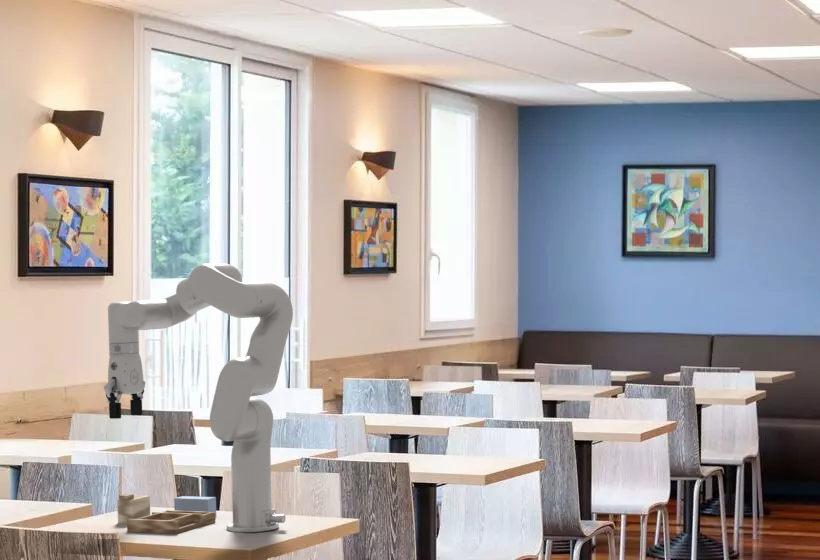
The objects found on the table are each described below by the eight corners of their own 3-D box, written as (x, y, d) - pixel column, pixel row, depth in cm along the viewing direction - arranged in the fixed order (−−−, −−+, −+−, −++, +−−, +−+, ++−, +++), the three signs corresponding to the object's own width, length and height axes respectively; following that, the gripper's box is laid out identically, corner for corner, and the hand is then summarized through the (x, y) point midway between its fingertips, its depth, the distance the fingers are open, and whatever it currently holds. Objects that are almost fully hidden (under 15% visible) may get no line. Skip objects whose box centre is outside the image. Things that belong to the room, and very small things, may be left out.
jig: (215, 522, 360) (215, 510, 360) (176, 533, 343) (176, 521, 343) (167, 520, 365) (167, 508, 365) (127, 531, 349) (126, 519, 349)
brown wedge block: (150, 519, 368) (149, 491, 368) (131, 524, 360) (130, 495, 360) (135, 518, 370) (135, 490, 370) (116, 523, 362) (115, 495, 362)
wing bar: (216, 516, 370) (215, 497, 370) (208, 519, 366) (207, 499, 366) (183, 515, 374) (182, 496, 374) (174, 517, 370) (174, 498, 370)
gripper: (117, 351, 359) (119, 419, 358) (154, 348, 375) (156, 413, 374) (92, 351, 361) (94, 419, 361) (130, 348, 377) (132, 413, 377)
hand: (126, 416), depth 368 cm, fingers open, 9 cm apart
